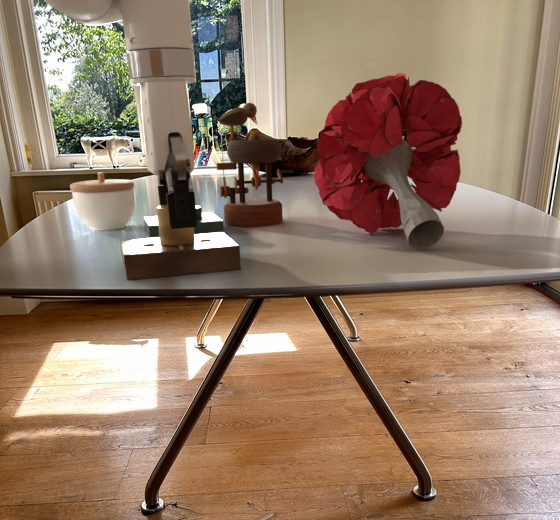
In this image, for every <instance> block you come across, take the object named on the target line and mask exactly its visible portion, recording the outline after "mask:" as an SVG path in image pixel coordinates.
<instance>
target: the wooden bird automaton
mask: <svg viewBox="0 0 560 520" xmlns="http://www.w3.org/2000/svg"><path fill="white" fill-rule="evenodd" d="M257 112H258V109H257V106H256V105H255V104H254V103H253V102H247V103H245V104H244V105H243V107H235V108H233V109H230V110H228V111H226V112H224V113H223V114H222V115H221V116H219V118H218V119H211V120H208V123H214V122H218V123H219V124H220V125H221V128H220V130H219V132H220V139H221V143H223V134H222V132H223V126H229V130H230V136H229V137H228V139H229V142H228V144H227V147H226V154H227V157H228V159H229V160H230V162H216V171H222V172H223V173H222V174H223V177H222V185H221V186H219V197H221V198H223V199H227V198H228V197H229V200H228V201H226V203H225V204H224V205H223V217H224V219H223V222H224V225H225V226H227V227H234V228H266V227H272V226H278V225H280V224H282V223H283V219H284V218H283V203H282V202H281V201H280V200H278V199H277V198H276V199H275V198H273V185H274V184H276V183H280V184H284V178H283V175H282V174H293V173H295V171H294V170H293V169H286V170H285V169H284V170H281V169H280V168H278V169H277V170H276V175H277V178H276V179H275V177H272V163H274V162H276V161H278V160H279V159H280V156H281V155H282V146H281V144H280V141H279V140H278V139H277V138H261V135H260V133H259V130H258V129H256V130H254V129H252V130H249V133H250V134H249V136H248V138H241V139H240V138H239V139H238V138H237V139H236V137H235V135H234V127H237V126H243V125H244V124H246V122H247V121H248V119H250V121H252V122H253V123H254V125H256V126H258V121H257V116H256V115H257ZM223 147H224V146H221V156H222V159H221V160H224V150H223ZM264 163H265V179H262V178H261V176H260V165H259V164H264ZM245 164H251V165H252V166H251V170H252V177H251V178H250V180H245V168H244V167H245V166H244V165H245ZM229 170H230V171H231V170H232V171H233V170H234V171H235V170H237V173H238V175H237V176H238V179H237V177H236V176H234V177H233V186H231V187H230V186H229V185H227V182H226V177H225V171H229ZM247 184H248V185H249V184H250V185H251V187H253V189H254V190H255V191H257V190H258V189H259V187H261V186H262V184H265V186H266V187H265V188H266V198H265V197H253V198H246V194H248V193H249V187H245V186H246V185H247ZM236 195H239V198H236Z"/></svg>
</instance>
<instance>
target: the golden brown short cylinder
mask: <svg viewBox="0 0 560 520" xmlns="http://www.w3.org/2000/svg"><path fill="white" fill-rule="evenodd" d="M156 216H157V218H158V227H159V237H160V244H162V245H167V246H179V245H187V244H191V243H194V242H195V237H194V227H190V228H179V229H172V228H171V227H170V222H169V213H168V205H161V206H160V205H158V206H156Z"/></svg>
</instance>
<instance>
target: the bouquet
mask: <svg viewBox="0 0 560 520" xmlns="http://www.w3.org/2000/svg"><path fill="white" fill-rule="evenodd" d="M462 127H463V118H462V116H461V112H460V108H459V105H458V104H457V101H456V100H455V98H454V97H452V95H451V94H450V93H449V92H448V90H447V89H446V88H445V87H443V86H442V85H440V84H439V83H437V82H434V81H429V80H426V79H419V80H418V81H416V82H415V83H413V85H412V84H411V85H410V76H408V78H407V75H406V73H403V72H399V73H396V74H395V75H390V74H389V75H386V76H382V77H380V78H371V79H368V80H366V81H361V82H357V83H355V85H354V86H353V87H352V88H351V92H349V93H348V94H347V96H345V99H340V100H338V101H337V102H336V104H334V105H333V106H332V108H331V109H330V110H329V111H328V113H327V115H326V119H325V121H324V127H323V129H322V130H321V131H320V132H319V134H318V136H319V138H318V142H317V144H316V145H317V154H318V162H317V163H316V165H315V167H314V171H313V180H314V183H315V185H316V187H317V189H318V195H319V197H320V199H321V201H322V205H324V206H326V208H327V209H328V210H329V211H330V212H331V213H332V214H334V215H335V216H336V217H337V218H338V219H339V220H343V221H350V222H352V224H353V225H355V226H356V227H357V228H359V229H362V230H364V232H366V233H367V234H373V233H377V232H378V230H379V229H382V230H383V229H389V228H393V229H394V228H395V229H398V228H399V227H401V226H402V228H403V235H404V237H405V238H406V240H407V243H408V244H409V246H410V247H411V248H413V249H415V250H425V249H428V248H431V247H433V246H434V245H436V244H437V243H438V242H439V241H441V239H442V237H443V236H444V232H445V226H444V225H443V223H442V220H441V219H440V217H439V215H438V214H437V212H436V211H438V212H441V213H442V212H443V209H446V208H448V206H449V205H450V204H451V202H452V200H453V197H454V195H455V192H456V191H457V185H458V184H459V181H460V178H461V174H462V172H461V163H460V157H461V156H460V154H459V149H452V146H455V145H457V141H458V135H459V134H460V133H461V131H462ZM409 179H411V181H412V183H411V182H410V181H409ZM391 190H392V193H391V194H390V192H391ZM435 210H436V211H435Z"/></svg>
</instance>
